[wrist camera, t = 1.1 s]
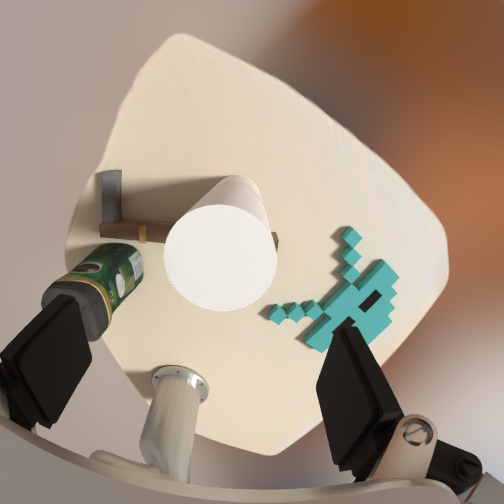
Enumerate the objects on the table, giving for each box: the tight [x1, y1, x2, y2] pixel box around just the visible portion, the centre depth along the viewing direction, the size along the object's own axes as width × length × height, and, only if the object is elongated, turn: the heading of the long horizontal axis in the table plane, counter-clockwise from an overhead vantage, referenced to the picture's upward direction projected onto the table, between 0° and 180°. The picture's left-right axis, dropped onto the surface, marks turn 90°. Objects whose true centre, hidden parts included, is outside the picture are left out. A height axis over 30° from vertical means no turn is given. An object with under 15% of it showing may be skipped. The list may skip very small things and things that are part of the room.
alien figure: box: [268, 226, 399, 353], centre depth 46 cm, size 20×2×20 cm
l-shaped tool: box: [100, 170, 279, 252], centre depth 39 cm, size 10×27×4 cm, turn 84°
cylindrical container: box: [164, 175, 277, 311], centre depth 29 cm, size 7×7×25 cm
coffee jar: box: [41, 244, 143, 342], centre depth 35 cm, size 10×8×19 cm
